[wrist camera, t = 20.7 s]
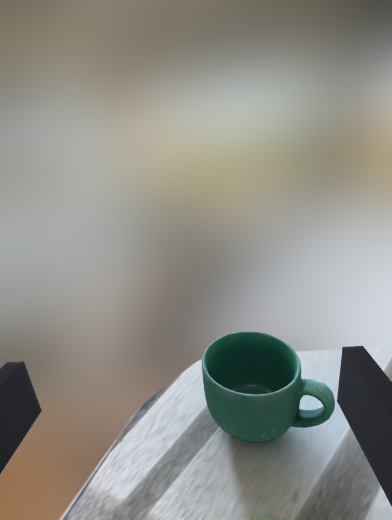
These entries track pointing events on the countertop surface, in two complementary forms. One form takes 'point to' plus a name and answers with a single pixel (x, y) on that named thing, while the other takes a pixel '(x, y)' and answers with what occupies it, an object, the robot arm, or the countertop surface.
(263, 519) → the bowl
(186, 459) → the countertop surface
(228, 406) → the mug
